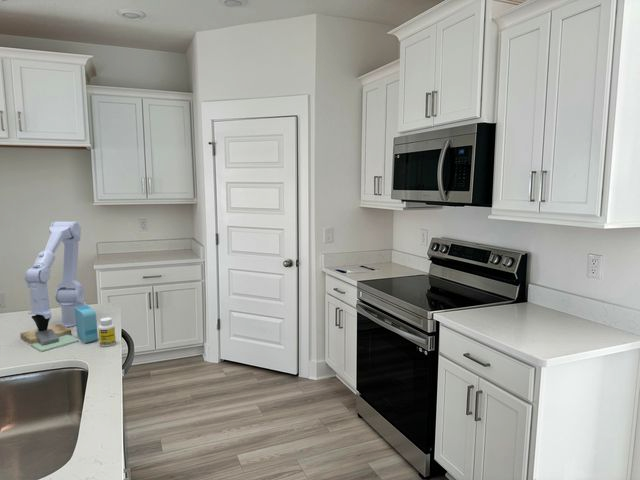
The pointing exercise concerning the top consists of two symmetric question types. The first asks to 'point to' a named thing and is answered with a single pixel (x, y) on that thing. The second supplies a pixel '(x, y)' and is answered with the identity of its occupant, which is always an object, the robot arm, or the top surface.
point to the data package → (86, 324)
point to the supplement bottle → (106, 332)
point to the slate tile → (47, 337)
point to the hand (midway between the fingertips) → (43, 332)
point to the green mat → (62, 342)
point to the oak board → (57, 329)
